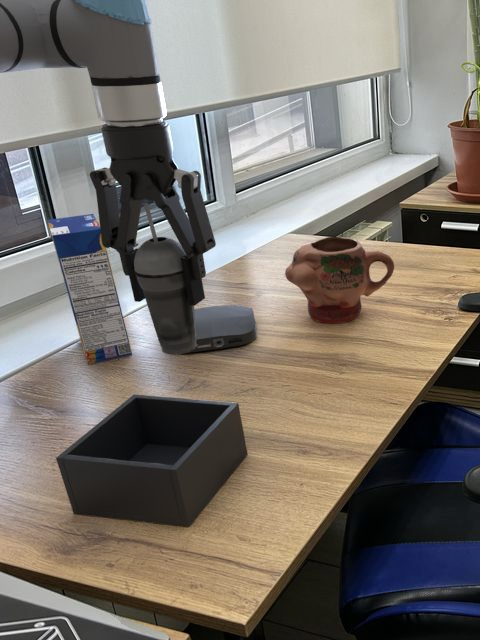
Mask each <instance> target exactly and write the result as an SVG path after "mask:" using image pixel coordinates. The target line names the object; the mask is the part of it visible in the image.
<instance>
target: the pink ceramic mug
mask: <svg viewBox="0 0 480 640" xmlns="http://www.w3.org/2000/svg"><path fill="white" fill-rule="evenodd" d="M376 262H379V263H383V265H384V266H385V267H386V273H385V275H384V276H383V278H381V279H380V280H379V281H374V280H372V278H371V275H370V274H371V273H370V268H371V266H372V265H373V264H374V263H376ZM394 262H395V261H394V260H393V258H392V257H391V256H390V254H388V253H386V252H383V251H380V250H369V251H368V250H366V249H364V247H363V245H362V243H361V242H359V241H358V240H356V239H352V238H349V237H340V236H336V235H334V236H328V237H323V238H320V239H316V240H313V241H311V242H308V243H305V244H301V245H300V246H299V247H297V248H296V249H295V251H294V252H293V254H292V260H291V263H290V264H289V265H288V266H287V267H286V268H285V270H284V276H285V278H286V280H287V281H288V282H290V283H291V284H293V285H294V286H296V287H298V289H300V290H301V292H302V294H303V295H304V297H305V298H306V300H307V311H308V315H309V317H310V318H311V319H313V320H314V321H316V322H319V323H325V324H338V323H339V324H341V323H346V322H351V321H353V320H355V319H356V318H357V317H358V316H359V315H360V313H361V311H362V307H363V306H362V300H361V296H365V297H370V296H371V295H372V294H374V293H375V292H377V291H378V290H380V289H381V288H382V287H383V286H385V285H386V283H387V282H388V281H389V279H391V277H392V276H393V274H394V270H395V263H394Z"/></svg>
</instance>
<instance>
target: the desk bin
mask: <svg viewBox="0 0 480 640" xmlns="http://www.w3.org/2000/svg"><path fill="white" fill-rule="evenodd" d="M240 409H241V408H240V404H239V402H231V401H218V400H206V399H196V398H195V399H193V398H183V397H170V396H160V395H159V396H158V395H146V394H132V395H131V396H130V397H128V398H127V399H126V400H125V401H124V402H122V403H121V404H120V405H119V406H117V408H115V409H114V410H113V411H111V412H110V413H109V414H108V415H107V416H105V417H103V419H101V420H100V421H99V422H98V423H97V424H95V425H94V426H93V427H92V428H90V430H88V431H87V432H86V433H84V434H83V435H82V436H81V437H79V438H78V439H77V440H76V441H75V442H73V443H72V444H71V445H70V446H69V447H67V448H66V449H65V450H63V451H62V452H61V453H60V454H59V455H57V456H56V457H55V460H56V463H57V466H58V469H59V473H60V475H61V480H62V482H63V485H64V488H65V492H66V494H67V497H68V501H69V504H70V508H71V510H72V513H73V514H74V515H81V516H90V517H99V518H107V519H115V520H125V521H133V522H141V523H149V524H150V523H151V524H159V525H168V526H176V527H183V528H190V527H191V526H192V524H193V523H194V522H195V521H196V519H197V518H198V517H199V515H201V513H202V512H203V511H204V509H206V507H207V505H209V503H210V502H211V501H212V500H213V498H214V497H215V496H216V494H217V493H218V492H219V491H220V490H221V488H222V487H223V486H224V485H225V483H226V482H227V481H228V480H229V478H230V477H231V476H232V475H233V474H234V472H235V471H236V470H237V469H238V467H239V466H240V465H241V463H243V462H244V460H245V458H247V456H248V449H247V443H246V437H245V432H244V427H243V421H242V416H241V410H240Z"/></svg>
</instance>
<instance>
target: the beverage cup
mask: <svg viewBox="0 0 480 640" xmlns="http://www.w3.org/2000/svg"><path fill="white" fill-rule="evenodd" d="M143 207H144V210H145V214H146V217H147V221H148V224H149V229H150V233H151V236H152V238H150V239H147V240H146V241H144V242H143V243H142V244H141V245H140V246H139V247H138V248H139V249H138V250H137V252H136V254H135V258H134V274H135V275H136V276H137V280H138V282H139V285H140V287H141V288H142V290H143V293H144V296H145V299H144V300H145V302H146V305H147V308H148V312H149V315H150V318H151V322H152V324H153V328H154V330H155V335H156V337H157V340H158V342H159V344H160V347H161V351H162V353H164V354H166V355H173V356H174V355H175V356H176V355H183V354H188V353H187V352H190V351H192V350H194V349H195V348H196V346H197V343H196V323H195V312H194V310H195V306H192V305H189V300H188V295H187V290H186V284H185V279H184V274H183V268H182V263H181V257H183V256H184V255H186V254H185V252H184V250H183V248H182V246H181V244H180V243H179V241H178V240H175V239H173V238H171V237H166V236H157V232H156V228H155V224H154V221H153V216H152V213H151V210H150V206H149V202H144V203H143ZM190 353H191V352H190Z"/></svg>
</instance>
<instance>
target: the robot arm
mask: <svg viewBox="0 0 480 640" xmlns="http://www.w3.org/2000/svg"><path fill="white" fill-rule="evenodd" d="M152 23H153V20H152V18H151V16H150V13H149V8H148V3H147V0H0V74H1V73H2V74H3V73H12V72H13V73H14V72H21V71H30V70H36V69H37V70H39V69H73V68H74V69H75V68H77V69H87V72H88V75H89V79H90V85H91V90H92V95H93V99H94V105H95V108H96V114H97V118H98V120H100V121H102V122H105V124H102V127H101V129H100V130H101V135H102V140H103V145H104V149H105V153H106V155H107V156H108V157H109V158H110V165H109V167H102V168H101V167H100V168H99V169H95V170H92V171H90V172H89V178H90V180H91V182H92V185H93V187H94V190H95V194H96V202H97V211H98V212H97V213H98V221H99V222H98V223H99V225H100V230H101V239H102V245H103V246H104V247H106V249H109V248H111V249H113V250H115V251H116V252H117V253H118V254H119V257H120V258H119V259H120V263H121V266H122V272H123V273H124V275H125V276H127V277H128V278H129V283H130V286H131V291H132V296H133V300H134V302H135V303H140V302H142V301H144V300H146V299H145V296H144V293H143V290H142V288H141V287H140V285H139V282H138V280H137V276H136V275H135V274H134V258H135V254H136V252H137V250H138V249H139V247H138V246H139V243H137V237H138V231H139V224H140V216H141V211H142V205H143V202H144V201H145V200H146V201H147V200H148V201H151V202H154V203H155V205H156V207H157V209H160V210H161V212H162V213H163V215H164V217H165V219H166V220H167V222H168V224H169V226H170V228H171V230H172V232H173V233H174V235H175V237H176V239H177V242H178V243H180V244H181V246H182V248H183V250H184V252H185V254H186V255H184V256H183V257H181V263H182V268H183V274H184V279H185V284H186V290H187V295H188V300H189V305H192V306H194V307H195V306H196V305H198V304H199V303H201V302H203V300H206V294H205V289H204V284H203V279H204V278H205V277H206V276H207V275H206V274H207V271H206V270H207V269H206V265H205V259H204V254H205V253H208V251H211V250H212V249H214V248H215V247H216V245H217V243H216V239H215V235H214V232H213V229H212V226H211V221H210V218H209V214H208V212H207V208H206V203H205V201H204V197H203V194H202V190H201V186H202V185H201V184H202V175H201V173H200V171H198V170H193V171H187V170H183V169H180V168H179V166H178V165H177V164H176V163H175V160H174V158H173V157H174V156H173V153H174V145H173V140H172V139H173V138H172V134H171V128H170V124H169V123H168V122H167V121H165V120H163V119H164V118H166V116H167V108H166V102H165V97H164V92H163V91H164V90H163V85H162V82H161V76H160V73H159V72H160V71H159V67H158V59H157V54H156V47H155V42H154V35H153V28H152ZM176 182H177V183H178V184H177V188H179V189H181V191H180V193H181V197H180V195H179V193H178V191H177V189H176V188H175V183H176ZM116 183H118V184H119V186H120V188H121V189H120V195H119V196H118V190H117V189H118V188H117V185H116ZM181 198H182V201H183V204H184V207H183V205H182V203H181ZM119 203H120V204H121V205H120V208H119ZM184 208H185V209H184Z"/></svg>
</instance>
